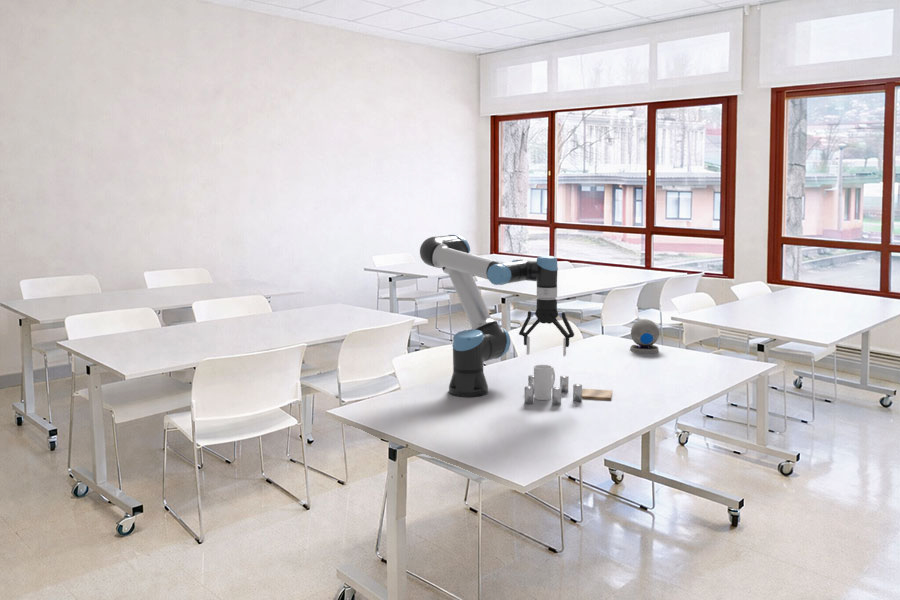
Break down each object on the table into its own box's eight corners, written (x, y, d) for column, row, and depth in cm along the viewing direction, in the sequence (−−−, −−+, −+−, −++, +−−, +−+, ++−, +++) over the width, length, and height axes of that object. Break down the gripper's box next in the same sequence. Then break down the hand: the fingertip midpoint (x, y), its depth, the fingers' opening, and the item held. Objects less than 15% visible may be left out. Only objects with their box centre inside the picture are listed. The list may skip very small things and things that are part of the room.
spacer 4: (559, 392, 287) (559, 377, 286) (560, 390, 290) (560, 375, 289) (567, 393, 286) (568, 377, 285) (568, 390, 289) (568, 375, 288)
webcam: (655, 347, 360) (656, 317, 358) (660, 353, 348) (661, 322, 346) (628, 347, 362) (629, 317, 359) (632, 353, 349) (633, 322, 347)
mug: (543, 401, 275) (543, 370, 273) (529, 398, 280) (530, 366, 278) (561, 396, 281) (561, 365, 279) (547, 392, 286) (548, 362, 284)
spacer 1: (527, 392, 288) (527, 377, 287) (528, 389, 291) (528, 374, 290) (535, 392, 287) (536, 377, 286) (537, 390, 290) (537, 375, 289)
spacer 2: (523, 404, 272) (523, 388, 271) (525, 401, 275) (525, 386, 274) (532, 404, 271) (532, 388, 270) (533, 402, 274) (533, 386, 273)
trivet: (578, 398, 279) (578, 395, 278) (580, 391, 288) (580, 388, 288) (610, 400, 276) (610, 397, 275) (612, 392, 285) (612, 390, 285)
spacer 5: (572, 401, 275) (572, 385, 274) (573, 399, 278) (573, 383, 277) (581, 402, 274) (581, 386, 273) (582, 399, 277) (582, 384, 276)
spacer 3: (551, 405, 271) (551, 389, 270) (552, 402, 274) (552, 386, 273) (560, 405, 270) (560, 389, 269) (561, 403, 273) (561, 387, 272)
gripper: (511, 298, 274) (511, 355, 277) (580, 300, 268) (579, 358, 271) (514, 295, 281) (514, 350, 285) (581, 297, 275) (580, 353, 279)
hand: (546, 354), depth 278 cm, fingers open, 13 cm apart
